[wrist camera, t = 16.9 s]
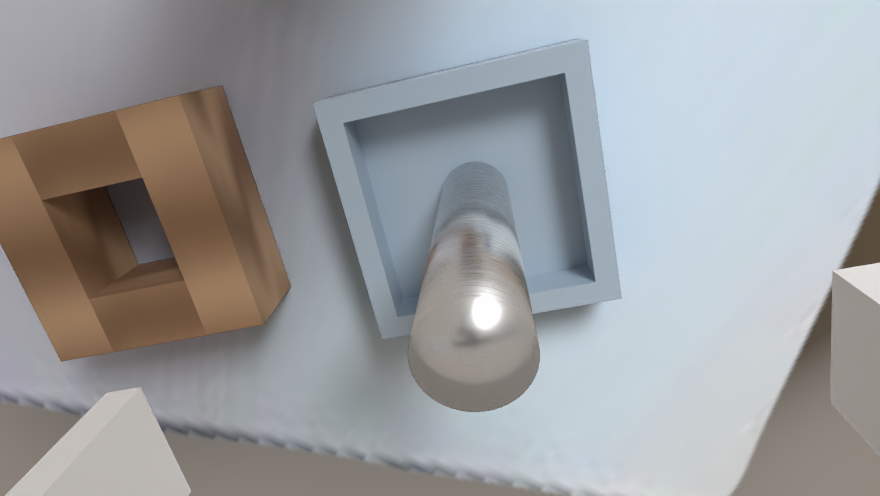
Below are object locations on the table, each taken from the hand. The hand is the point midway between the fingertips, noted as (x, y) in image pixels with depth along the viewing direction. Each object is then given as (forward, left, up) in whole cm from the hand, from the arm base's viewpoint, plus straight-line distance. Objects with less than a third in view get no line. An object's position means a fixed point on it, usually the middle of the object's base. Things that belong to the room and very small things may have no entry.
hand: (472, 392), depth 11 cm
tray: (0, 0, -17) cm, 17 cm away
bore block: (-2, -15, -17) cm, 22 cm away
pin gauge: (0, 0, -16) cm, 16 cm away
